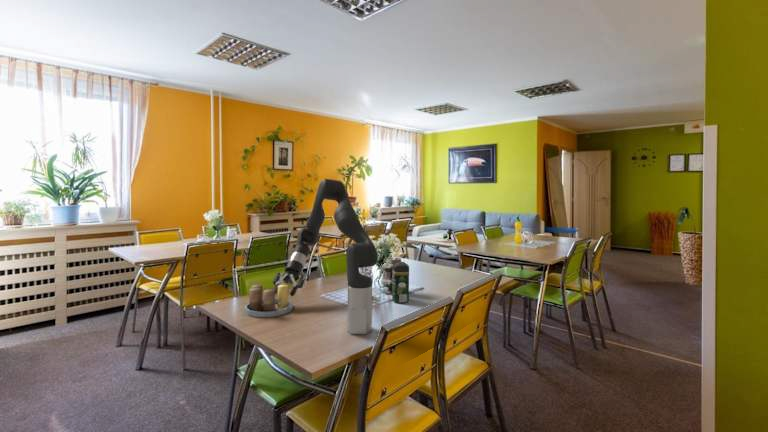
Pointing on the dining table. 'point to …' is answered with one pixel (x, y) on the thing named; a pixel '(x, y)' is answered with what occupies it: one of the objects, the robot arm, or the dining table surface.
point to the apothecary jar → (388, 274)
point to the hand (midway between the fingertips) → (282, 294)
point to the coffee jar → (400, 282)
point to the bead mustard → (283, 296)
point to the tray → (269, 313)
